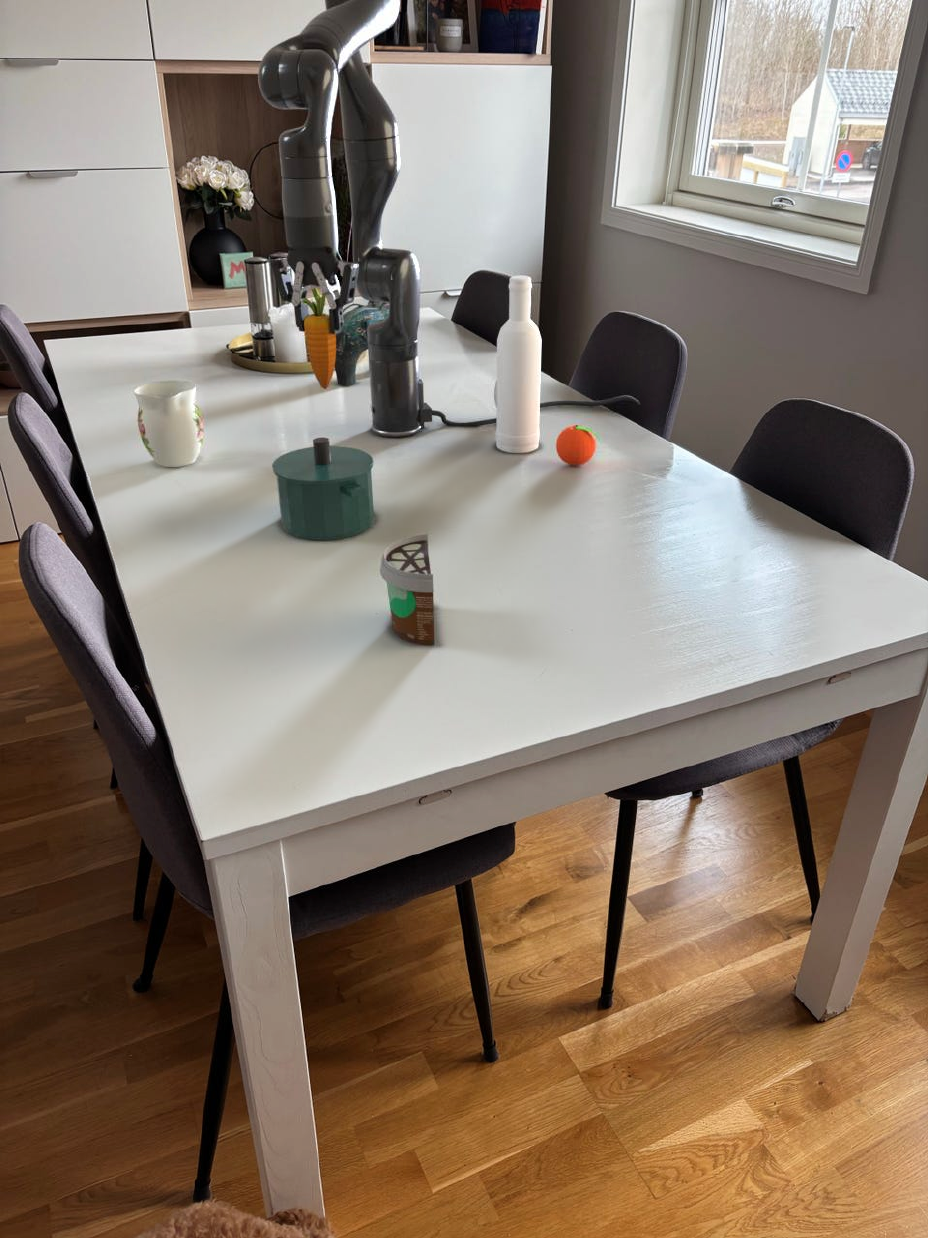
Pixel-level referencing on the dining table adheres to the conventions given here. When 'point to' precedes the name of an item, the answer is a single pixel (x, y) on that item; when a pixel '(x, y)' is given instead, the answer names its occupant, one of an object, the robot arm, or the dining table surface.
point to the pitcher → (170, 422)
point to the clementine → (576, 445)
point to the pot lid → (322, 464)
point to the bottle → (518, 373)
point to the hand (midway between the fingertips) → (320, 331)
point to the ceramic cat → (355, 338)
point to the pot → (326, 508)
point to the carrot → (320, 340)
